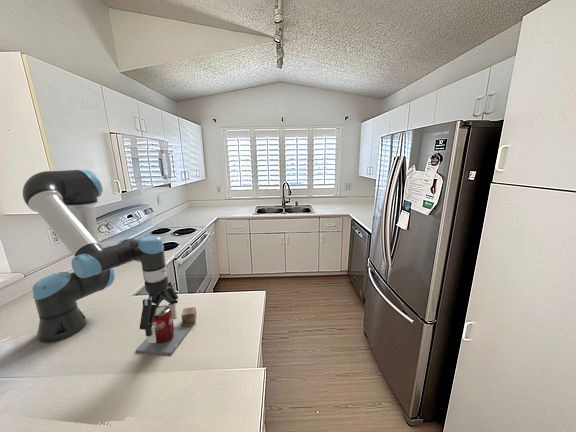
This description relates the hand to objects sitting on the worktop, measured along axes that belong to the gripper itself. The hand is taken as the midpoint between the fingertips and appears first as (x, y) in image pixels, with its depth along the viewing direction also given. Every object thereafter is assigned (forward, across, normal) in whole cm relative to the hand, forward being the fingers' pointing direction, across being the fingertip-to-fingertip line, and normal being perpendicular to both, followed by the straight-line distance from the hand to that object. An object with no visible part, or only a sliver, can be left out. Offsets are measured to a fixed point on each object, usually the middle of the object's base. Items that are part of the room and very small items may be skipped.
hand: (163, 329), depth 97 cm
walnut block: (+5, +12, -4) cm, 13 cm away
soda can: (+4, 0, 0) cm, 4 cm away
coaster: (+4, 0, 0) cm, 4 cm away
